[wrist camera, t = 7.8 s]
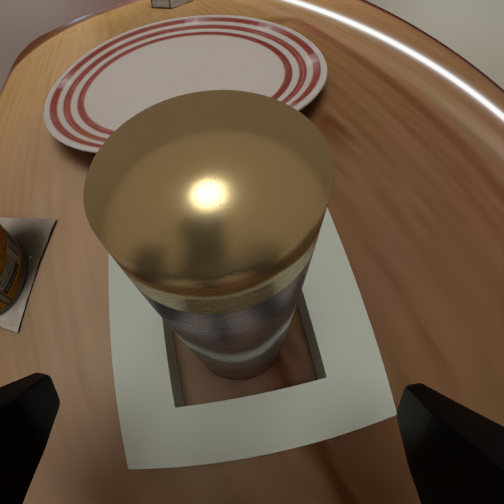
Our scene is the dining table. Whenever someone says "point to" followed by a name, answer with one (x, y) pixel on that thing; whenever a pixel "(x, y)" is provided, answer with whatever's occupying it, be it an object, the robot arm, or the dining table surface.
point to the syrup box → (168, 3)
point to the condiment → (19, 264)
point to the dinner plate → (179, 72)
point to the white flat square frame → (255, 406)
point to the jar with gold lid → (215, 218)
